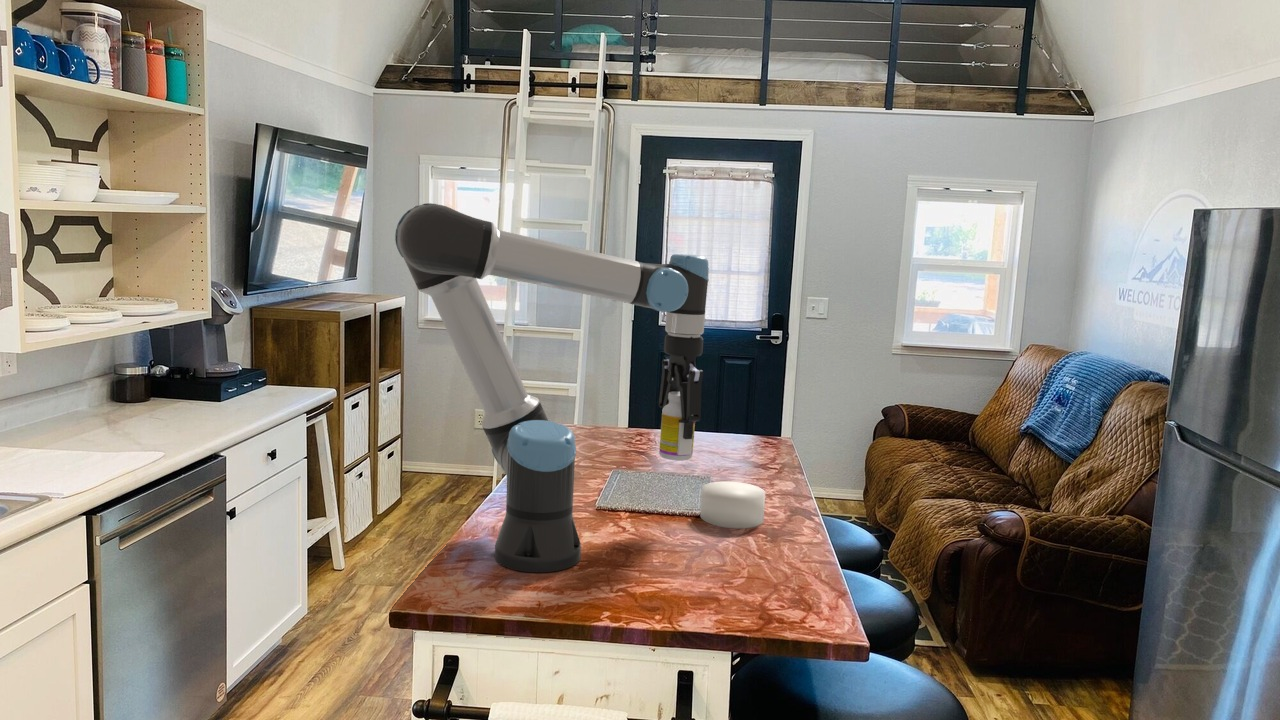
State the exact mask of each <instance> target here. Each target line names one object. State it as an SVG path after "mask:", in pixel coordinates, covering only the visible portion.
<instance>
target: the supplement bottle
mask: <svg viewBox="0 0 1280 720" xmlns="http://www.w3.org/2000/svg"><path fill="white" fill-rule="evenodd" d="M668 400H669V404H667V405H666V406H664V407H663V410H662V409H661V411H662V413H661V423H660V435H659V437H660V438H659V448H658V449H659V451H658V453H659V456H660V457H661V458H663V459H666V460H670V461H676V462H677V461H681V462H683V461H688V460H690V459H691V458H692V457H693V452H694V442H695V441H694V439H695V426H696V425H695V424H696V422H694V425H693V438H692V451H691V455H678V454H677V449H678V435H679V420H680V419H682V413H681V400H680V392H669V394H668Z"/></svg>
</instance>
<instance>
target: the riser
mask: <svg viewBox="0 0 1280 720" xmlns="http://www.w3.org/2000/svg"><path fill="white" fill-rule="evenodd" d="M701 487H702V488H701V497H700V498H701V500H700V515H699V517H700V519H701V520H703V521H704V522H706V523H708V524H711V525H712V526H716V527H720V528H727V529H751V528H755V527H758V526H761V525H762V524H763V523H764V519H765V504H766V491H765V490H764V489H763V488H761V487H759V486H758V485H755V484H754V485H753V484H750V483H745V482H739V481H728V480H727V481H726V480H724V481H723V480H722V481H713V482H708V483H706V484H704V485H702V486H701Z"/></svg>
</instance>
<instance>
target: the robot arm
mask: <svg viewBox="0 0 1280 720" xmlns="http://www.w3.org/2000/svg"><path fill="white" fill-rule="evenodd" d="M394 236H395V239H394V242H395V245H396V248H397V251H398V253H399V255H400V257H402V258H403V260H404V262H405V264H406V267H407V268H408V271H409V273H410V274H411V277H412V279H413V281H414V283H415V285H416V288H417V290H418V291H419V292H421V293H423V294H426V295H428V296H430V297H431V299H432V301H433V303H434V306H435V308H436V310H437V312H438V314H439V316H440V319H441V321H442V323H443V325H444V328H445V329H446V332H447V335H448V336H449V338H450V340H451V343H452V345H453V347H454V349H455V351H456V353H457V355H458V357H459V360H460V362H461V364H462V366H463V368H464V370H465V373H466V375H467V377H468V380H469V381H470V383H471V386H472V388H473V390H474V391H475V395H476V396H477V400H478V401H479V403H480V405H481V407H482V410H483V411H484V412H483V413H484V416H483V418H482V421H481V424H480V425H481V427H482V430H483V431H484V434H485V436H486V438H487V440H488V442H489V444H490V447H491V452H492V456H493V458H494V459H495V461H496V462H497V463H498V465H499V466H500V467H501V469H502V470H503V472H504V474H505V475H506V499H505V500H506V501H505V502H506V507H505V509H506V510H505V515H504V516H505V517H504V519H503V521H502V524H501V527H500V529H499V533H498V536H497V539H496V541H495V545H494V559H495V561H496V562H497V563H498V564H499V565H501V566H502V567H505V568H508V569H510V570H514V571H518V572H519V571H520V572H527V573H551V572H559V571H563V570H566V569H569V568H571V567H574V566H575V565H577V564H578V563H579V562H580V560H581V557H582V555H581V553H582V544H581V542H580V541H581V540H580V538H579V533H578V530H577V527H576V524H575V521H574V516H573V511H574V510H573V509H574V506H573V505H574V487H575V485H574V484H575V461H576V455H577V446H576V439H575V433H574V432H573V431H572V430H571V428H569V427H568V426H566V425H564V424H562V423H558V422H555V421H551V420H549V419H548V416H547V415H546V412H545V410H544V408H543V405H542V403H541V401H540V399H539V398H538V397H537V396H533V395H530V394H528V392H527V390H526V388H525V386H524V383H523V381H522V378H521V377H520V374H519V371H518V369H517V367H516V365H515V363H514V361H513V358H512V356H511V354H510V351H509V349H508V347H507V345H506V342H505V340H504V338H503V335H502V333H501V332H500V330H499V327H498V325H497V322H496V320H495V318H494V315H493V313H492V311H491V309H490V307H489V305H488V301H487V300H486V297H485V295H484V293H483V291H482V289H481V286H480V284H479V281H478V280H477V279H479V280H483V279H484V278H485V277H487V276H493V277H499V278H503V279H508V280H514V281H518V282H524V283H528V284H534V285H538V286H542V287H548V288H553V289H556V290H562V291H566V292H567V291H568V292H570V293H571V292H573V293H576V294H582V295H586V296H591V297H596V298H600V299H601V298H602V299H605V300H611V301H614V302H619V303H624V304H630V305H634V306H638V307H642V308H649V309H652V310H654V311H657V312H662V313H666V314H665V329H664V331H665V332H666V334H665V336H664V345H663V353H664V354H665V355H669V359H662V361H661V367H662V368H661V369H662V370H661V381H660V390H659V396H658V397H659V398H658V408H661V411H662V410H663V407H664V406H666V405H667V404H669V400H668V394H669V392H680V400H681V413H682V419H680V420H679V435H678V449H677V454H678V455H691V451H692V438H693V425H694V422H695V423H696V422H700V421H701V415H702V414H701V412H702V411H701V410H702V385H703V384H702V383H703V377H704V370H702V369H697V365H696V358H697V357H700V356H702V355H703V348H704V338H703V336H701V335H703V334H704V333H705V323H706V321H707V319H706V307H707V306H706V305H707V297H708V295H707V294H708V287H709V270H710V268H709V260H708V258H707V257H706V256H703V255H696V254H679V253H678V254H677V253H674V254H672V255H671V256H670V260H669V261H668V263H661V264H660V263H659V264H658V263H651V262H650V263H648V262H641V261H637V260H633V259H628V258H624V257H619V256H616V255H611V254H606V253H601V252H598V251H593V250H589V249H584V248H578V247H574V246H571V245H567V244H561V243H557V242H553V241H548V240H544V239H540V238H535V237H531V236H527V235H522V234H517V233H512V232H510V231H505V230H499V229H497V227H496V226H495V224H494V222H491V221H488V220H484V219H481V218H476V217H474V216H470V215H467V214H465V213H463V212H460V211H458V210H455V209H453V208H451V207H449V206H447V205H444V204H443V205H442V204H439V203H438V204H437V203H430V202H428V203H423V204H419V205H415V206H413V207H412V208H410V209H408V210H407V211H406V212H405V213H404V214H403V215H402V216H401V218H400V219H399V220H398V223H397V225H396V229H395V234H394Z"/></svg>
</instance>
